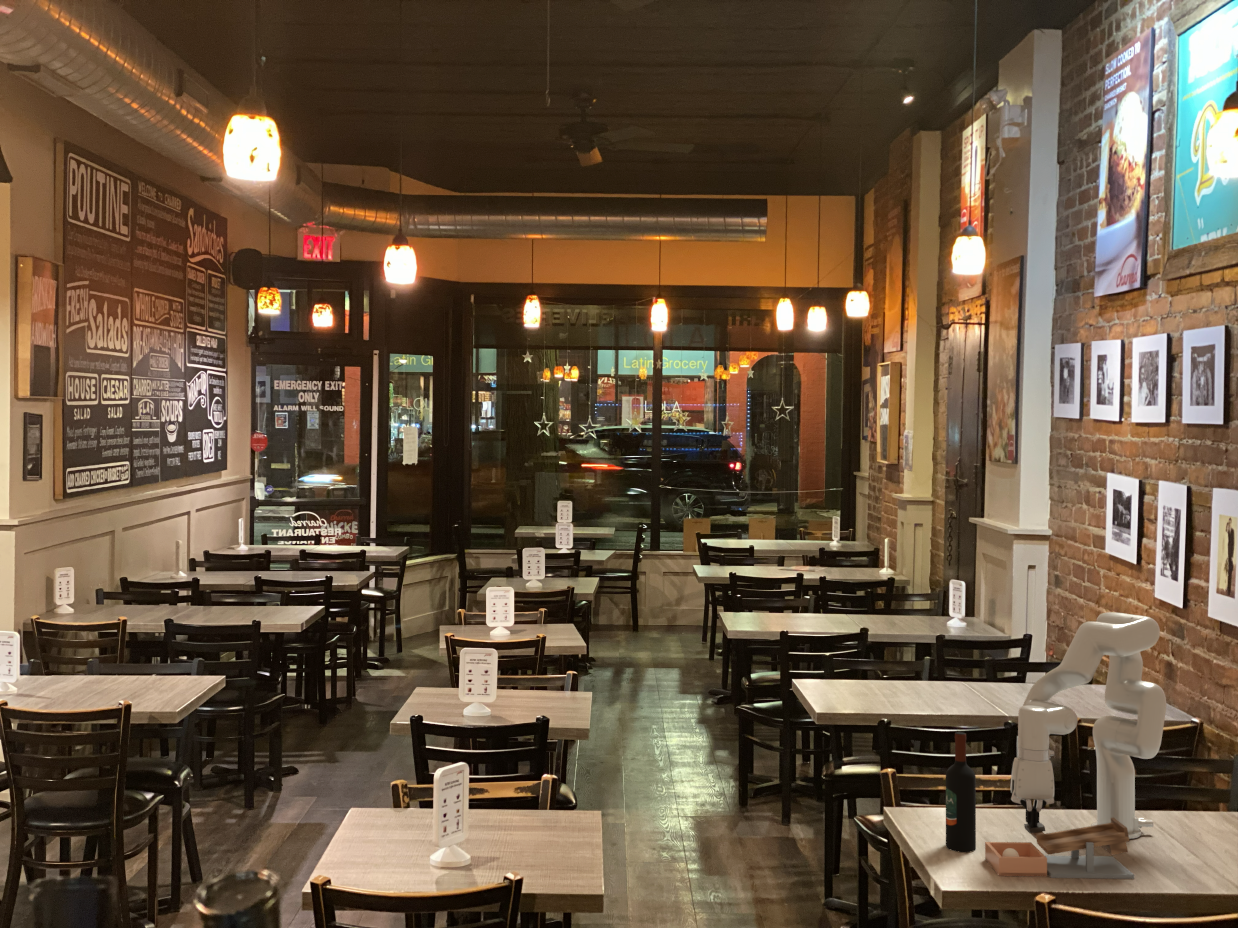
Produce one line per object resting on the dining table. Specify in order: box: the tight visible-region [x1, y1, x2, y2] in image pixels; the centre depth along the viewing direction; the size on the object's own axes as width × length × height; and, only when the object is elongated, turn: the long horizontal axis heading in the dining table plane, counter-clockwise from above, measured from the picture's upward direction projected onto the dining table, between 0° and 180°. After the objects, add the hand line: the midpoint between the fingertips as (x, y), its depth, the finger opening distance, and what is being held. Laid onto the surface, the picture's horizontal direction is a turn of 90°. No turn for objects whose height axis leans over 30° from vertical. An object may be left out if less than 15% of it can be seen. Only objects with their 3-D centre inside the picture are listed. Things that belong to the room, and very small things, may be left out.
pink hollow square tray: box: [984, 841, 1048, 878], centre depth 279 cm, size 12×12×4 cm
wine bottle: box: [945, 731, 977, 853], centre depth 294 cm, size 8×8×30 cm
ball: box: [1002, 848, 1019, 857], centre depth 279 cm, size 4×4×4 cm
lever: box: [1023, 818, 1130, 856], centre depth 283 cm, size 20×17×6 cm
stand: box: [1043, 842, 1135, 880], centre depth 278 cm, size 20×13×8 cm, turn 88°
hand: (1032, 825), depth 289 cm, fingers closed
